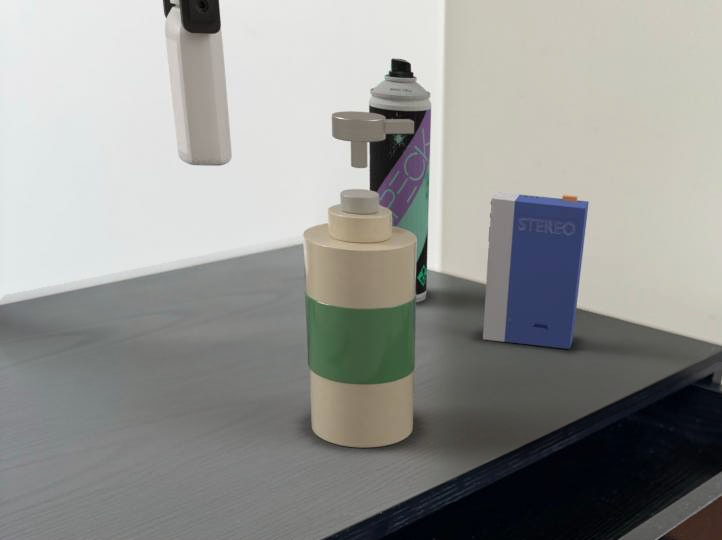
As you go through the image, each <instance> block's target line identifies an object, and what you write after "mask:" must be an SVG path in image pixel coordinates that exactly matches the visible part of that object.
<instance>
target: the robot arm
mask: <svg viewBox="0 0 722 540" xmlns="http://www.w3.org/2000/svg"><path fill="white" fill-rule="evenodd" d="M179 5H180V15H181V23H182V26H183V28H184V29H185V30H186V31H188V32H190V33H205V34H215V33H217V32H219V30H220V28H221V27H222V22H221V21H222V19H221V9H220V0H179ZM175 6H176V4H173V3H170V0H162V7H163V15H164V17H165V20H166V19H167V16H168V14H169V12H170V10H171V9H172V7H175ZM221 29H222V28H221Z"/></svg>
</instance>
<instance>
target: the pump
mask: <svg viewBox="0 0 722 540" xmlns="http://www.w3.org/2000/svg"><path fill="white" fill-rule="evenodd" d="M386 134H414V121H412V120H410V119H386V118H385V116H383V115H380V114H376V113H369V111H354V110H353V111H351V110H350V111H348V110H347V111H336V112H333V113H331V136H332V138H334V139H335V140H340V141H344V142H350V167H351V168H355V169H367V168H368V167H369V166H368V165H369V164H368V143H369V142H379V141H383V140H385V138H386Z"/></svg>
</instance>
